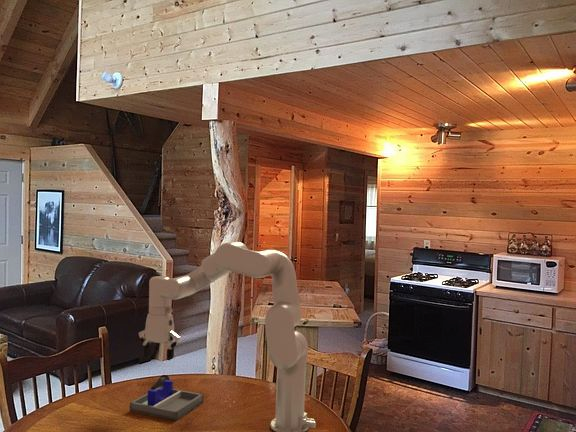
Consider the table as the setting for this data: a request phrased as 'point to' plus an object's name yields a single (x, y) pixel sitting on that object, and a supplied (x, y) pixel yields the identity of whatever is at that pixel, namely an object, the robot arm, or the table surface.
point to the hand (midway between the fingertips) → (158, 357)
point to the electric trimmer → (160, 382)
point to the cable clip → (160, 393)
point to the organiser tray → (168, 405)
